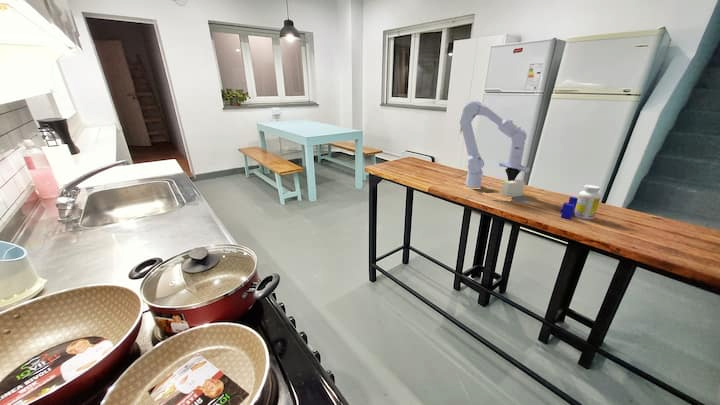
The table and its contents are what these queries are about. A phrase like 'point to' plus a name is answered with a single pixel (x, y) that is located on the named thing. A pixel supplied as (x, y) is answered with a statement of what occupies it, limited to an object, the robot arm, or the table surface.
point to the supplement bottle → (587, 202)
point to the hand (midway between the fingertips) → (510, 183)
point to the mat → (520, 199)
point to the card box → (513, 188)
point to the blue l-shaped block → (569, 208)
